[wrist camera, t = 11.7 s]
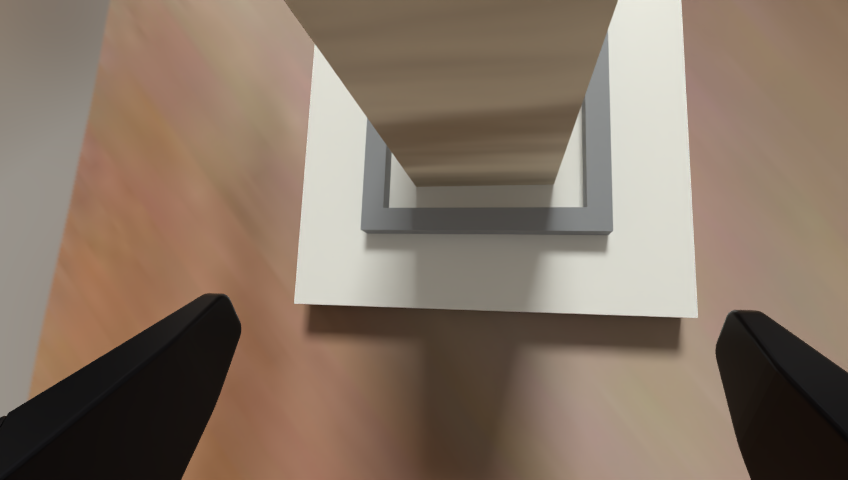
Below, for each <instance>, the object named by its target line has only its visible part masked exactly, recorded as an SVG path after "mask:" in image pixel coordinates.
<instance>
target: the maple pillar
mask: <svg viewBox="0 0 848 480" xmlns="http://www.w3.org/2000/svg"><path fill="white" fill-rule="evenodd" d="M284 1H285V2H286V4H287V5H288V7H289V8H290V9H291V11H292V12H293V14H294V15H295V17H296V18H297V19H298V21H299V22H300V24H301V25H302V26H303V28H304V29H305V31H306V32H307V33H308V35H309V36H310V38H311V39H312V41H313V42H314V43H315V45H316V46H317V48H318V49H319V50H320V52H321V53H322V55H323V56H324V57H325V59H326V60H327V62H328V63H329V65H330V66H331V67H332V69H333V70H334V72H335V73H336V74H337V76H338V77H339V79H340V80H341V81H342V83H343V84H344V86H345V87H346V89H347V90H348V91H349V93H350V94H351V96H352V97H353V98H354V100H355V101H356V103H357V104H358V105H359V107H360V108H361V110H362V111H363V113H364V114H365V115H366V117H367V118H368V120H369V121H370V122H371V124H372V125H373V127H374V128H375V129H376V131H377V132H378V134H379V135H380V137H381V138H382V139H383V141H384V142H385V144H386V145H387V146H388V148H389V149H390V151H391V152H392V153H393V155H394V156H395V158H396V159H397V161H398V162H399V163H400V165H401V166H402V168H403V169H404V170H405V172H406V173H407V175H408V176H409V177H410V179H411V180H412V182H413V183H414V185H415V186H416V187H433V186H492V185H551V184H554V183H555V180H556V177H557V174H558V171H559V168H560V165H561V163H562V160H563V157H564V154H565V151H566V148H567V145H568V143H569V140H570V137H571V134H572V131H573V128H574V125H575V122H576V120H577V117H578V114H579V111H580V108H581V105H582V102H583V100H584V97H585V94H586V91H587V88H588V85H589V82H590V79H591V77H592V74H593V71H594V68H595V65H596V62H597V59H598V57H599V54H600V51H601V48H602V45H603V42H604V39H605V36H606V34H607V31H608V28H609V25H610V22H611V19H612V16H613V14H614V11H615V8H616V5H617V2H618V0H284Z"/></svg>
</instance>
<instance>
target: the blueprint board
mask: <svg viewBox="0 0 848 480" xmlns="http://www.w3.org/2000/svg"><path fill="white" fill-rule="evenodd" d="M294 304H311V305H339V306H367V307H395V308H423V309H451V310H479V311H507V312H535V313H563V314H591V315H618V316H646V317H674V318H698V310H697V291H696V272H695V253H694V234H693V215H692V196H691V177H690V158H689V139H688V120H687V101H686V82H685V63H684V44H683V25H682V6H681V0H618V2H617V5H616V8H615V11H614V14H613V16H612V19H611V22H610V25H609V28H608V31H607V34H606V36H605V39H604V42H603V45H602V48H601V51H600V54H599V57H598V59H597V62H596V65H595V68H594V71H593V74H592V77H591V79H590V82H589V85H588V88H587V91H586V94H585V97H584V100H583V102H582V105H581V108H580V111H579V114H578V117H577V120H576V122H575V125H574V128H573V131H572V134H571V137H570V140H569V143H568V145H567V148H566V151H565V154H564V157H563V160H562V163H561V165H560V168H559V171H558V174H557V177H556V180H555V183H554V184H551V185H492V186H433V187H416V186H415V185H414V183H413V182H412V180H411V179H410V177H409V176H408V175H407V173H406V172H405V170H404V169H403V168H402V166H401V165H400V163H399V162H398V161H397V159H396V158H395V156H394V155H393V153H392V152H391V151H390V149H389V148H388V146H387V145H386V144H385V142H384V141H383V139H382V138H381V137H380V135H379V134H378V132H377V131H376V129H375V128H374V127H373V125H372V124H371V122H370V121H369V120H368V118H367V117H366V115H365V114H364V113H363V111H362V110H361V108H360V107H359V105H358V104H357V103H356V101H355V100H354V98H353V97H352V96H351V94H350V93H349V91H348V90H347V89H346V87H345V86H344V84H343V83H342V81H341V80H340V79H339V77H338V76H337V74H336V73H335V72H334V70H333V69H332V67H331V66H330V65H329V63H328V62H327V60H326V59H325V57H324V56H323V55H322V53H321V52H320V50H319V49H318V48H317V46H316V45H315V47H314V60H313V72H312V85H311V98H310V110H309V123H308V135H307V148H306V161H305V173H304V186H303V198H302V211H301V223H300V236H299V249H298V261H297V274H296V286H295V299H294Z"/></svg>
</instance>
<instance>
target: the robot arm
mask: <svg viewBox="0 0 848 480" xmlns="http://www.w3.org/2000/svg"><path fill="white" fill-rule="evenodd" d="M240 335H241V323H240V320H239V318H238V316H237V314H236V311H235V309H234V307H233V305H232V303H231V300H230V298H229V297H228V296H227V295H225V294H214V293H208V294H204V295H202V296H200V297H198V298H197V299H195V300H194V301H192V302H190V303H189V304H187V305H185V306H184V307H182V308H180V309H179V310H177V311H175V312H174V313H172V314H170V315H169V316H167V317H166V318H164V319H162V320H161V321H159V322H157V323H156V324H154V325H152V326H151V327H149V328H147V329H146V330H144V331H142V332H141V333H139V334H138V335H136V336H134V337H133V338H131V339H129V340H128V341H126V342H124V343H123V344H121V345H119V346H118V347H116V348H114V349H113V350H111V351H110V352H108V353H106V354H105V355H103V356H101V357H100V358H98V359H96V360H95V361H93V362H91V363H90V364H88V365H86V366H85V367H83V368H82V369H80V370H78V371H77V372H75V373H73V374H72V375H70V376H68V377H67V378H65V379H63V380H62V381H60V382H58V383H57V384H55V385H54V386H52V387H50V388H49V389H47V390H45V391H44V392H42V393H40V394H39V395H37V396H35V397H34V398H32V399H31V400H29V401H27V402H26V403H24V404H22V405H21V406H19V407H17V408H16V409H14V410H12V411H11V412H9V413H8V415H7V416H3V417H1V418H0V480H181V479H182V477H183V474H184V472H185V470H186V468H187V466H188V464H189V462H190V460H191V457H192V455H193V453H194V451H195V449H196V447H197V445H198V442H199V440H200V438H201V436H202V434H203V432H204V430H205V427H206V425H207V423H208V421H209V419H210V417H211V415H212V412H213V410H214V408H215V405H216V403H217V400H218V398H219V395H220V392H221V390H222V387H223V384H224V381H225V378H226V375H227V372H228V370H229V367H230V364H231V361H232V358H233V355H234V352H235V350H236V347H237V344H238V341H239V338H240ZM716 360H717V364H718V368H719V372H720V376H721V380H722V384H723V388H724V392H725V395H726V399H727V403H728V407H729V411H730V415H731V419H732V423H733V427H734V431H735V435H736V438H737V442H738V445H739V448H740V451H741V454H742V457H743V460H744V462H745V465H746V468H747V470H748V473H749V476H750V478H751V480H848V372H846V371H845V370H843V369H842V368H840V367H839V366H838V365H836V364H835V363H833V362H832V361H831V360H829V359H828V358H826V357H825V356H823V355H822V354H821V353H819V352H818V351H816V350H815V349H814V348H812V347H811V346H809V345H808V344H806V343H805V342H804V341H802V340H801V339H799V338H798V337H797V336H795V335H794V334H792V333H791V332H789V331H788V330H787V329H785V328H784V327H782V326H781V325H780V324H778V323H777V322H775V321H774V320H772V319H771V318H770V317H768V316H767V315H765V314H764V313H762V312H760V311H754V310H733V311H731V312H729V314H728V315H727V317H726V319H725V322H724V325H723V327H722V330H721V333H720V335H719V338H718V341H717V344H716Z"/></svg>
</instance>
